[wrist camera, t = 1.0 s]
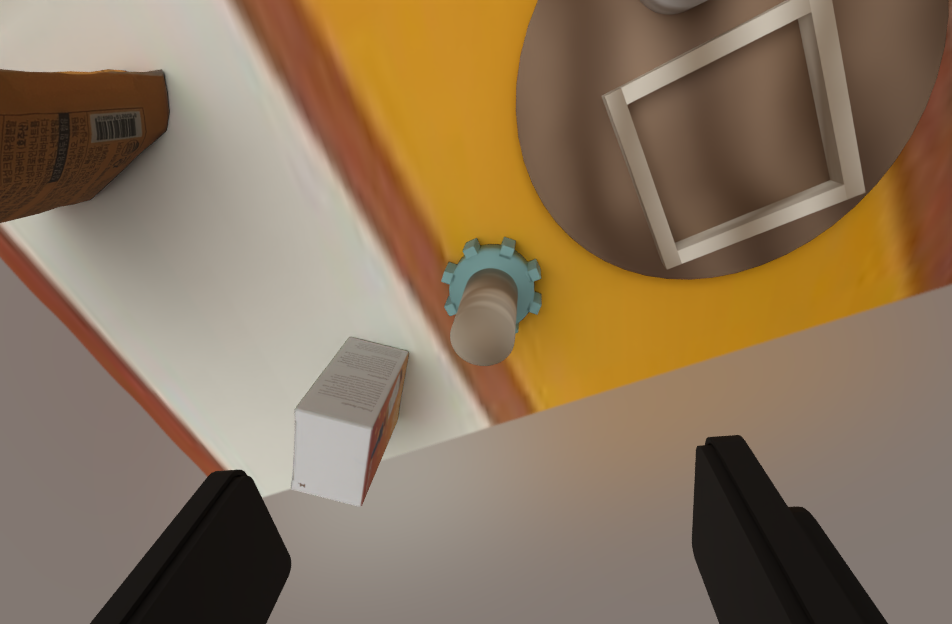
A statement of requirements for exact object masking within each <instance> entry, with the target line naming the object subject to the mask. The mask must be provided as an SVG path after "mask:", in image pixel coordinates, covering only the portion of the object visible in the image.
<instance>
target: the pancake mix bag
mask: <svg viewBox="0 0 952 624" xmlns="http://www.w3.org/2000/svg"><path fill="white" fill-rule="evenodd" d="M168 117H169V106H168V97H167V89H166V85H165V80H164V76H163V71H162V69H161V70H155V71H149V72H127V71H122V70H109V69H107V70H101V71H95V72H72V71H69V72H24V71H13V70H2V69H0V223H2V222H7V221H11V220H15V219H19V218H23V217H27V216H31V215H35V214H39V213H42V212H45V211H48V210H51V209H54V208H57V207H61V206H67V205H72V204H77V203H80V202H84V201H88V200H91V199H92V198H93V197H94V196H95V195H96V194H98V193H99V192H100V191H101V190H102V189H103V188H104V187H105V186H106V185H107V184H108V183H109V182H110V181H111V180H113V179H114V178H115V177H116V176H117V175H118V174H119V173H120V172H122V171H123V170H124V169H125V168H126V167H127V166H128V165H129V164H130V163H131V162H132V161H133V160H134V159H135V158H136V157H137V156H138V155H139V154H140V153H141V152H142V151H143V150H144V149H146V148H147V147H148V146H149V145H151V144H152V143H153V142H154V141H156V140H157V139H158V138H159V137H160V136H161V135H162V134H163V133H164V132H165V131H166V130H167V123H168Z"/></svg>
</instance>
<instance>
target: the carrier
mask: <svg viewBox="0 0 952 624" xmlns="http://www.w3.org/2000/svg"><path fill="white" fill-rule="evenodd" d="M947 23H948V0H538V2H537V5H536V7H535V10H534V12H533V15H532V18H531V20H530V23H529V25H528V29H527V33H526V37H525V40H524V44H523V48H522V52H521V56H520V63H519V70H518V77H517V88H516V116H517V127H518V137H519V141H520V146H521V150H522V155H523V159H524V162H525V165H526V168H527V171H528V173H529V176H530V179H531V182H532V184H533V186H534V188H535V190H536V192H537V193H538V195H539V197H540V199H541V201H542V203H543V204H544V206H545V207H546V209H547V210H548V211H549V213H550V214H551V216H552V217H553V218H554V220H555V221H556V222H557V223H558V224H559V225H560V227H561V228H562V229H563V230H564V231H565V232H566V233H567V234H568V235H569V236H570V237H571V238H572V239H574V240H575V241H576V242H577V243H579V244H580V245H581V246H582V247H584V248H585V249H586V250H587V251H589V252H591V253H592V254H594V255H596V256H597V257H599V258H601V259H602V260H604V261H606V262H608V263H611V264H613V265H615V266H618V267H620V268H622V269H625V270H628V271H632V272H635V273H639V274H642V275H646V276H653V277H660V278H666V279H700V278H712V277H718V276H723V275H728V274H733V273H738V272H741V271H744V270H747V269H750V268H754V267H757V266H760V265H763V264H765V263H767V262H770V261H772V260H774V259H777V258H779V257H781V256H784V255H786V254H788V253H790V252H791V251H793V250H795V249H797V248H799V247H800V246H802V245H804V244H806V243H808V242H809V241H811V240H812V239H814V238H815V237H817V236H818V235H819V234H821V233H822V232H824V231H825V230H827V229H828V228H830V227H831V226H832V225H834V224H835V223H836V222H837V221H838V220H840V219H841V218H842V217H843V216H844V215H846V214H847V213H848V212H849V211H850V210H851V209H853V208H854V207H855V206H856V205H857V204H858V203H859V202H860V201H861V200H862V199H863V198H864V197H865V196H866V195H867V194H868V193H869V192H870V191H871V190H872V188H873V187H874V186H875V185H876V184H877V183H878V182H879V180H880V179H881V178H882V177H883V175H884V174H885V173H886V172H887V170H888V169H889V168H890V167H891V165H892V164H893V163H894V162H895V160H896V158H897V157H898V155H899V154H900V152H901V151H902V149H903V148H904V146H905V145H906V143H907V141H908V140H909V138H910V137H911V135H912V133H913V131H914V129H915V127H916V125H917V123H918V121H919V119H920V118H921V116H922V114H923V112H924V110H925V108H926V105H927V102H928V100H929V97H930V95H931V92H932V89H933V87H934V84H935V81H936V79H937V75H938V71H939V67H940V63H941V59H942V55H943V51H944V47H945V40H946V31H947Z"/></svg>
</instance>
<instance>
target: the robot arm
mask: <svg viewBox="0 0 952 624" xmlns="http://www.w3.org/2000/svg"><path fill="white" fill-rule="evenodd" d="M692 548H693V553H694V557H695V560H696V563H697V565H698V568H699V571H700V574H701V576H702V579H703V581H704V584H705V587H706V589H707V592H708V595H709V597H710V600H711V603H712V605H713V608H714V610H715V613H716V616H717V619H718V621H719V624H888V623H887V622H886V620H885V619H884V617H883V616H882V614H881V613H880V611H879V610H878V609H877V607H876V606H875V604H874V603H873V601H872V600H871V598H870V597H869V596H868V594H867V593H866V591H865V590H864V588H863V587H862V586H861V584H860V583H859V581H858V580H857V578H856V577H855V576H854V574H853V573H852V571H851V570H850V568H849V567H848V565H847V564H846V562H845V561H844V560H843V558H842V557H841V555H840V554H839V552H838V551H837V550H836V548H835V547H834V545H833V544H832V542H831V541H830V539H829V538H828V537H827V535H826V534H825V532H824V531H823V529H822V528H821V526H820V525H819V524H818V522H817V521H816V519H815V518H814V517H813V516H812V515H811V513H810V512H809V511H807V510H806V509H805V508H803V507H788V506H787V505H786V503H785V502H784V500H783V499H782V497H781V496H780V494H779V492H778V491H777V489H776V488H775V486H774V485H773V483H772V482H771V480H770V479H769V477H768V475H767V474H766V472H765V471H764V469H763V468H762V466H761V465H760V463H759V462H758V460H757V458H756V457H755V455H754V454H753V452H752V451H751V449H750V448H749V446H748V445H747V443H746V441H745V440H744V439H743V438H742V437H741V436H739V435H734V436H719V437H708V438H707V439H706V442H705V445H703V446H697V448H696V462H695V484H694V505H693V527H692ZM290 570H291V558H290V555H289V553H288V551H287V549H286V547H285V545H284V543H283V541H282V538H281V537H280V534H279V532H278V530H277V528H276V526H275V524H274V522H273V520H272V518H271V516H270V514H269V512H268V509H267V507H266V505H265V503H264V501H263V499H262V497H261V495H260V493H259V491H258V489H257V487H256V485H255V483H254V480H253V479H252V478H251V477H250V476H247V474H246V473H245V472H244V471H243V470H227V471H215V472H213V473H211V474H210V475H209V476H208V477H207V478H206V480H205V481H204V482H203V483H202V485H201V486H200V487H199V488H198V490H197V491H196V492H195V493H194V495H193V496H192V497H191V499H190V500H189V501H188V502H187V503H186V505H185V506H184V507H183V508H182V510H181V511H180V512H179V513H178V515H177V516H176V517H175V518H174V519H173V521H172V522H171V523H170V525H169V526H168V527H167V528H166V529H165V531H164V532H163V533H162V534H161V536H160V537H159V538H158V539H157V541H156V542H155V543H154V544H153V546H152V547H151V548H150V549H149V551H148V552H147V553H146V554H145V556H144V557H143V558H142V560H141V561H140V562H139V563H138V564H137V566H136V567H135V568H134V570H133V571H132V572H131V573H130V574H129V576H128V577H127V578H126V579H125V581H124V582H123V583H122V584H121V586H120V587H119V588H118V589H117V591H116V592H115V593H114V594H113V596H112V597H111V598H110V599H109V601H108V602H107V603H106V604H105V606H104V607H103V608H102V609H101V610H100V612H99V613H98V614H97V615H96V617H95V618H94V619H93V620H92V622H91V623H90V624H266V623H267V620H268V618H269V616H270V614H271V612H272V610H273V608H274V606H275V604H276V602H277V599H278V597H279V595H280V593H281V591H282V589H283V587H284V585H285V582H286V580H287V578H288V576H289V573H290Z"/></svg>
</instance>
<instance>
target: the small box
mask: <svg viewBox="0 0 952 624" xmlns="http://www.w3.org/2000/svg"><path fill="white" fill-rule="evenodd" d="M408 356H409V352H408V351H405V350H401V349H397V348H393V347H389V346H385V345H381V344H377V343H373V342H369V341H365V340H361V339H357V338H353V337H349V338H348V339H347V341H346V342H345V343H344V345H343V346H342V347H341V348H340V350H339V351H338V352H337V354H336V355H335V356H334V358H333V359H332V360H331V362H330V363H329V364H328V366H327V367H326V368H325V370H324V371H323V372H322V374H321V375H320V376H319V377H318V379H317V380H316V381H315V383H314V384H313V385H312V387H311V388H310V389H309V391H308V392H307V393H306V395H305V396H304V397H303V398H302V400H301V401H300V403H299V404H298V405H297V406H296V408H295V438H294V459H293V475H292V482H291V489H292V490H296V491H300V492H304V493H308V494H311V495H315V496H320V497H323V498H327V499H331V500H335V501H339V502H343V503H347V504H351V505H356V506H362V504H363V502H364V499H365V497H366V494H367V492H368V490H369V487H370V485H371V482H372V480H373V477H374V475H375V473H376V471H377V468H378V466H379V463H380V461H381V459H382V456H383V454H384V452H385V449H386V447H387V444H388V442H389V440H390V437H391V435H392V433H393V430H394V428H395V425H396V423H397V420H398V414H399V407H400V400H401V394H402V389H403V384H404V379H405V373H406V367H407V362H408Z"/></svg>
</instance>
